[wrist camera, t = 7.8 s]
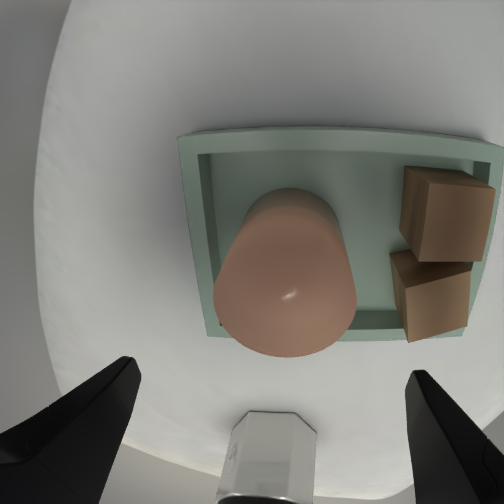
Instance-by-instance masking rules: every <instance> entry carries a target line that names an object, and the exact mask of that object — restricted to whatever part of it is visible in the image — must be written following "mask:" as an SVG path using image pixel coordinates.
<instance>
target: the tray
mask: <svg viewBox="0 0 504 504" xmlns="http://www.w3.org/2000/svg"><path fill="white" fill-rule="evenodd" d="M177 139H178V148H179V156H180V165H181V173H182V181H183V189H184V196H185V204H186V211H187V218H188V225H189V232H190V238H191V245H192V251H193V257H194V263H195V270H196V276H197V281H198V287H199V293H200V299H201V304H202V310H203V315H204V320H205V326H206V331H207V336H210V337H224V338H233V337H232V336H231V335H230V334H229V333H228V332H227V331H226V330H225V328H224V327H223V326H222V324H221V323H220V321H219V319H218V317H217V314H216V312H215V308H214V303H213V289H214V285H215V281H216V279H217V277H218V274H219V272H220V270H221V268H222V265H223V263H224V261H225V259H226V256H227V254H228V252H229V250H230V248H231V245H232V243H233V241H234V239H235V237H236V234H237V232H238V230H239V228H240V226H241V224H242V221H243V219H244V217H245V215H246V213H247V211H248V210H249V208H250V207H251V206H252V204H253V203H254V202H255V201H256V200H257V199H259V198H260V197H262V196H263V195H265V194H267V193H269V192H271V191H274V190H277V189H282V188H298V189H304V190H307V191H310V192H312V193H314V194H316V195H318V196H319V197H321V198H322V199H323V200H325V201H326V202H327V203H328V204H329V205H330V206H331V208H332V209H333V211H334V212H335V214H336V216H337V218H338V221H339V224H340V228H341V232H342V235H343V239H344V243H345V247H346V251H347V255H348V259H349V263H350V267H351V271H352V275H353V280H354V284H355V289H356V295H357V307H356V312H355V315H354V318H353V321H352V323H351V324H350V326H349V328H348V329H347V330H346V332H345V333H344V334H343V335H342V336H341V337H340V338H339V339H338V340H337V341H388V340H407V338H406V334H405V331H404V328H403V325H402V323H401V320H400V317H399V314H398V311H397V308H396V305H395V298H394V288H393V280H392V271H391V263H390V256H389V254H390V253H394V252H398V251H402V250H406V249H410V247H409V245H408V244H407V242H406V241H405V239H404V237H403V236H402V234H401V233H400V231H399V225H400V216H401V206H402V195H403V182H404V166H405V165H406V166H420V167H432V168H443V169H453V170H463V171H465V172H467V173H468V174H470V175H472V176H474V177H475V178H477V179H479V180H481V181H482V182H484V183H486V184H488V185H489V186H491V187H493V188H494V189H496V192H495V198H494V205H493V211H492V216H491V222H490V227H489V232H488V236H487V241H486V245H485V249H484V254H483V258H482V262H464V263H465V264H466V265H467V266H468V268H469V269H470V270H471V281H470V299H469V312H468V318H469V315H470V313H471V310H472V307H473V304H474V301H475V298H476V294H477V291H478V288H479V285H480V281H481V278H482V274H483V271H484V267H485V263H486V260H487V256H488V252H489V248H490V243H491V239H492V234H493V230H494V225H495V220H496V214H497V209H498V203H499V197H500V190H501V183H502V175H503V166H504V147H502V146H499V145H496V144H493V143H490V142H487V141H484V140H478V139H472V138H466V137H459V136H452V135H445V134H437V133H428V132H419V131H409V130H397V129H384V128H367V127H342V126H278V127H252V128H235V129H221V130H209V131H198V132H192V133H189V134H186V135H183V136H180V137H177ZM464 329H465V327H463V328H460V329H456V330H453V331H450V332H446V333H443V334H440V335H436V336H432V337H429V338H443V337H456V336H462V334H463V332H464ZM429 338H425V339H429Z"/></svg>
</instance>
